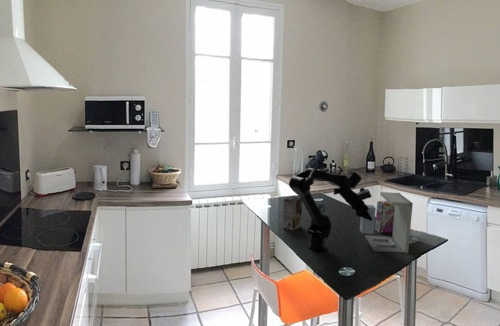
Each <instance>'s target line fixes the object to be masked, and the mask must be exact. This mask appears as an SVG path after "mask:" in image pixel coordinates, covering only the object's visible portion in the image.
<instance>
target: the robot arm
mask: <svg viewBox="0 0 500 326" xmlns="http://www.w3.org/2000/svg"><path fill="white" fill-rule="evenodd" d="M316 179H317V180H321V181H324V182H325V181H326V182H327V183H328V184H330V185H332V186H335V187H336V188H334V189H333V195H334V196H336V195H340V196H341V198H342V199H343V200H344V201H345V202H346V203H347V204H348V205H349V206H350V207H351V209H352V210H354V214H355V216H357V218H359V217H360V218H361V217H363V218H365V219H368V220H370V221H372V218H371V216H370V215H369V213H368V209H369V208H368V206H367V205H368V204H366V203H365V201H364V200H367V199H370V198H372V193H371V191H370V189H369V188H364V187H361V188H359V191H358V192H356V191H354V190H353V189H356V187H357V186H358V185H359V184H360V182H361V181H362V176H361V175H359V174H358V173H357V172H356V171H354V170H351V171H350V172H349V174H348V175H344V174H340V173H335V172H334V173H333V172H331V173H328V172H325V171H321V170H318V169H316V168H311V167H307V168H306V169H305V170H303V171H301V172H298V173H297V174H295V175H294V176H292V177H291V178H290V179H289V182H288V186H289V188H290V189H291V190H292V191H293V192H294V193H295V194H296V195H297V196H299V198H301V200H302V205H304V207H305V209H306V211H307V212H308V214H309V216H310V218H311V219H310V223H311V225H310V226H309V227H308V229H307V233H308V235H311V236H310V245H309V246H307V248H309V249H310V250H312V251H315V252H318V253H319V252H323V251H325V250H327V249H328V247H326V239H327V238H329V237H330V233H331V230H332V221H330V217H329V216H328V215H326V214H323V213H322V212H321V211H320V209H319V207H318V205H317V203H316V201H315V199H314V198H313V196H312V194H311V186H312V185H313V183H314V181H315V180H316Z"/></svg>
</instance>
